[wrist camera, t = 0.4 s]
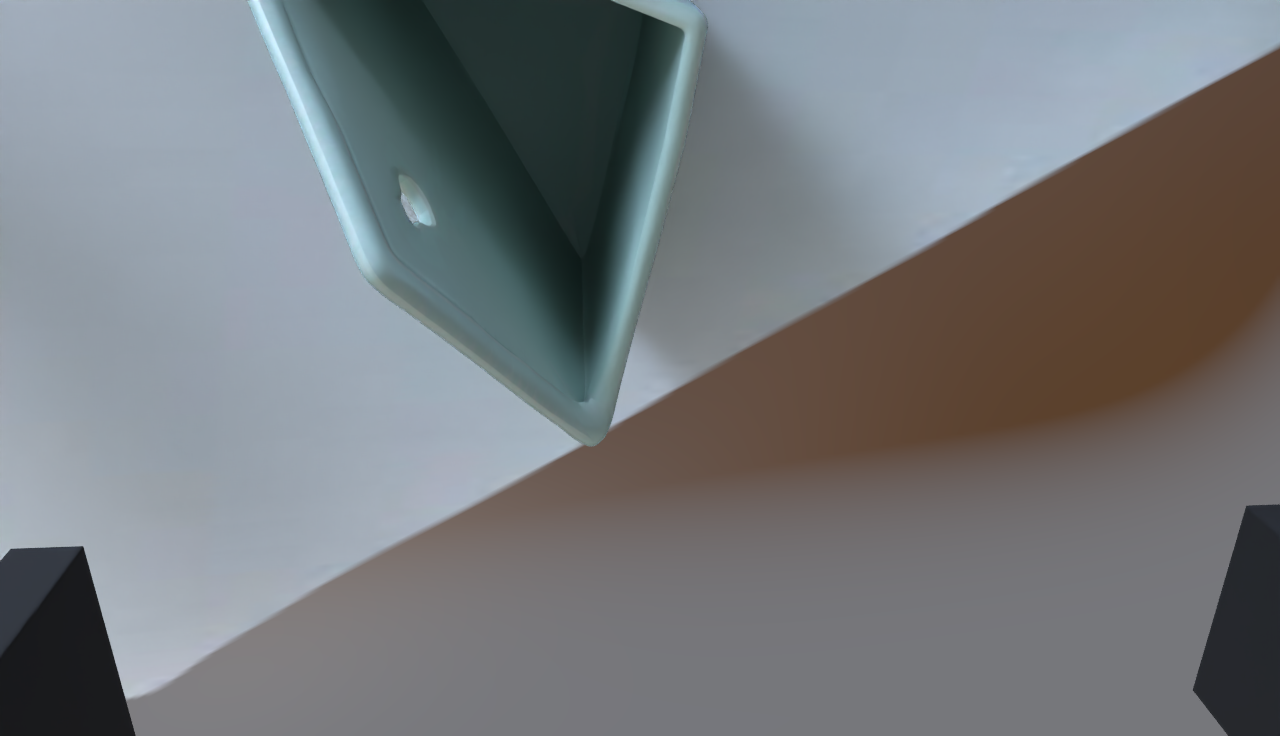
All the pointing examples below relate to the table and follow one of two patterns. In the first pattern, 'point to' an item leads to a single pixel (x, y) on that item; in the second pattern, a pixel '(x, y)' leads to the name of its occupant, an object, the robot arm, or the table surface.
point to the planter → (501, 169)
